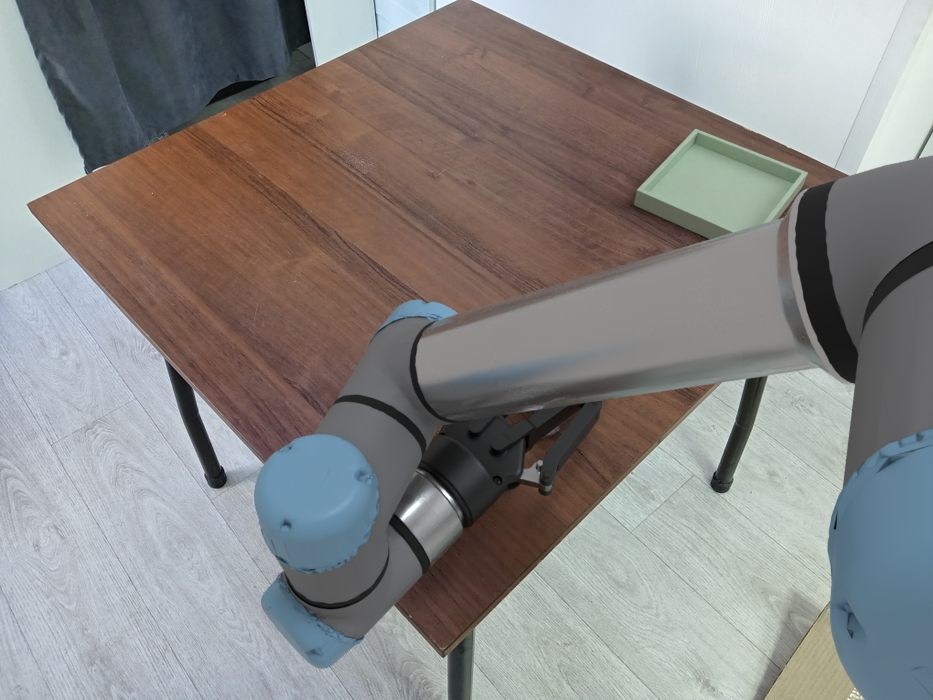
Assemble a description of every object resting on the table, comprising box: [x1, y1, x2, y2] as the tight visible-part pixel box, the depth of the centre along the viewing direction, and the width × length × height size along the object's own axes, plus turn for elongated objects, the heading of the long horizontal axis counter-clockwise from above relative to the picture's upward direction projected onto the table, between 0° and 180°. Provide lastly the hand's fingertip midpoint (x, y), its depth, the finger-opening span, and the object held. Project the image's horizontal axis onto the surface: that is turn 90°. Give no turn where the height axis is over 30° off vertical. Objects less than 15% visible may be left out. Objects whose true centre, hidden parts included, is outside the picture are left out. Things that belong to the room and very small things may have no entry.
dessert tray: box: [633, 128, 809, 240], centre depth 95 cm, size 15×15×2 cm
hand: (605, 333), depth 74 cm, fingers closed on flask, 3 cm apart
